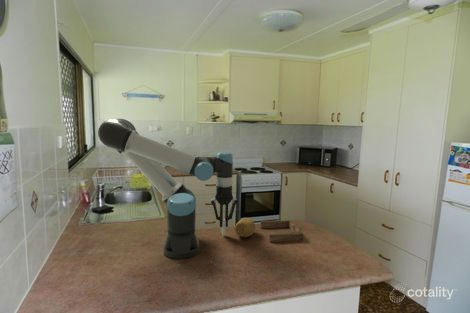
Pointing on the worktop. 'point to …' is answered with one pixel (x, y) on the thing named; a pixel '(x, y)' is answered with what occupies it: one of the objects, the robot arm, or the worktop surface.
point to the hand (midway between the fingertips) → (223, 233)
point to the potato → (245, 227)
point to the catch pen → (294, 236)
